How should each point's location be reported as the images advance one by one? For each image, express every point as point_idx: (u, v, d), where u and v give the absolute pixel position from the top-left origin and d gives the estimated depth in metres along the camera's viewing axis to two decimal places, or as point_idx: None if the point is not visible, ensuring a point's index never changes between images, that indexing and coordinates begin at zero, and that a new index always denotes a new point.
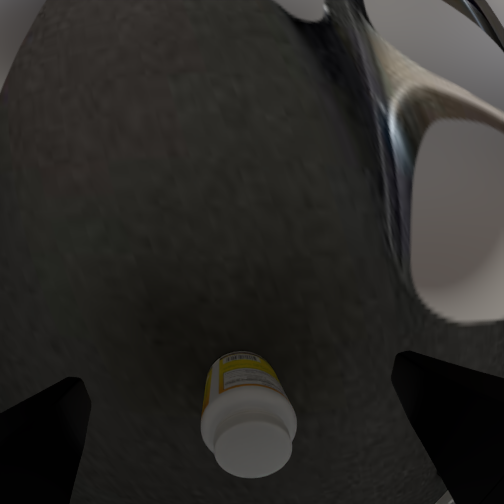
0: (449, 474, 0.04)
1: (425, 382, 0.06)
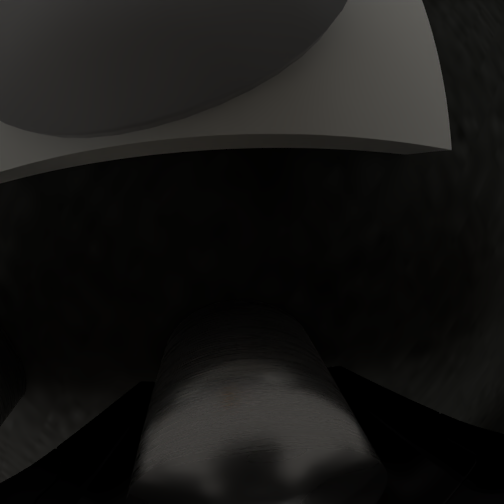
0: None
1: None
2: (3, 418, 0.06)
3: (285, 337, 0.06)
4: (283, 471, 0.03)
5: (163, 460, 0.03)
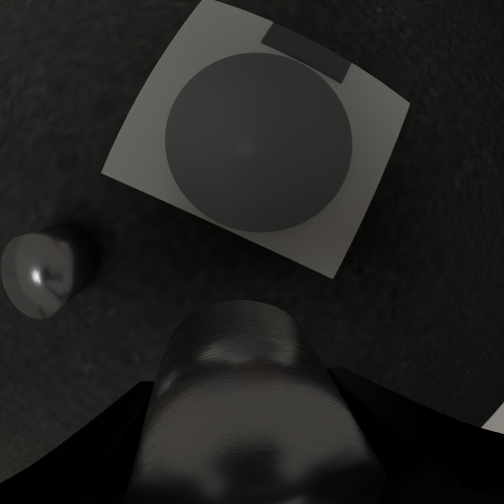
0: None
1: None
2: None
3: (285, 338, 0.06)
4: (282, 472, 0.03)
5: (162, 460, 0.03)
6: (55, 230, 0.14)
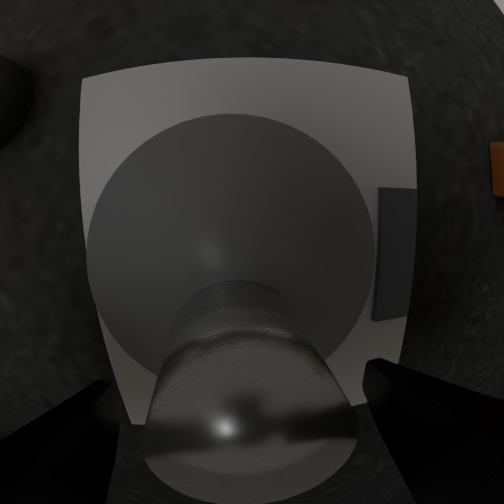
0: (419, 489, 0.04)
1: (393, 392, 0.06)
2: None
3: (274, 307, 0.08)
4: (267, 399, 0.04)
5: (175, 391, 0.04)
6: (1, 73, 0.06)
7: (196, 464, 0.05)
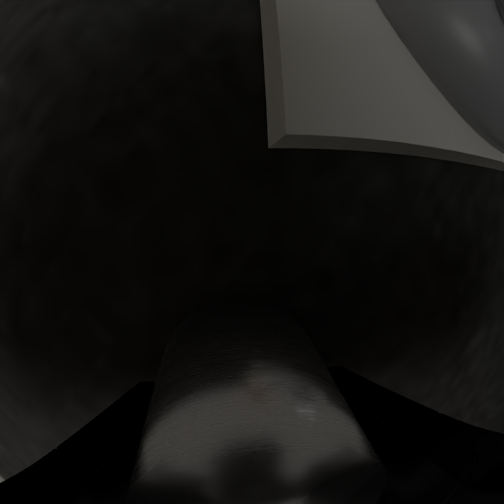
0: None
1: None
2: None
3: None
4: None
5: None
6: (227, 357, 0.05)
7: None
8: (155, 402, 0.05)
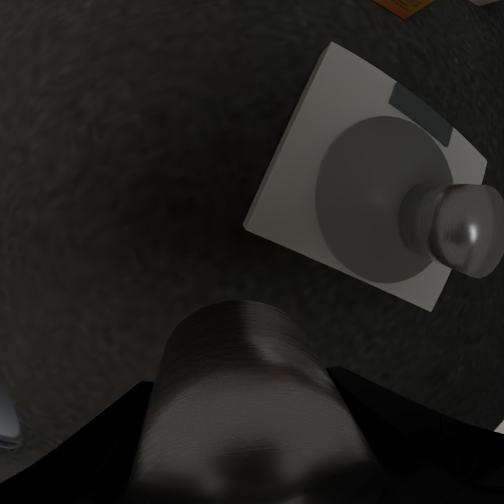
0: None
1: (346, 404, 0.06)
2: None
3: (428, 191, 0.13)
4: (469, 210, 0.10)
5: (454, 240, 0.11)
6: (226, 357, 0.05)
7: (479, 255, 0.11)
8: (154, 402, 0.05)
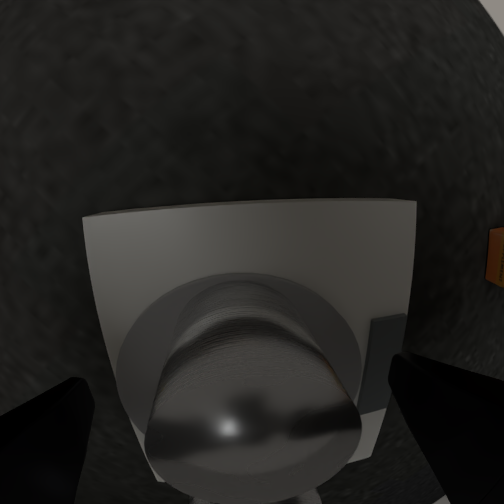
0: (445, 476, 0.04)
1: (421, 383, 0.06)
2: None
3: None
4: None
5: None
6: (229, 318, 0.07)
7: None
8: (170, 357, 0.06)
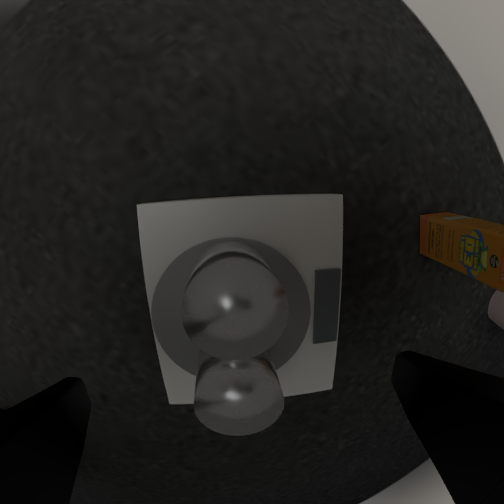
0: (449, 474, 0.04)
1: (425, 382, 0.06)
2: None
3: None
4: (241, 380, 0.13)
5: (208, 379, 0.13)
6: (223, 250, 0.14)
7: (216, 410, 0.13)
8: (193, 271, 0.13)
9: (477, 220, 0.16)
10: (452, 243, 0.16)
